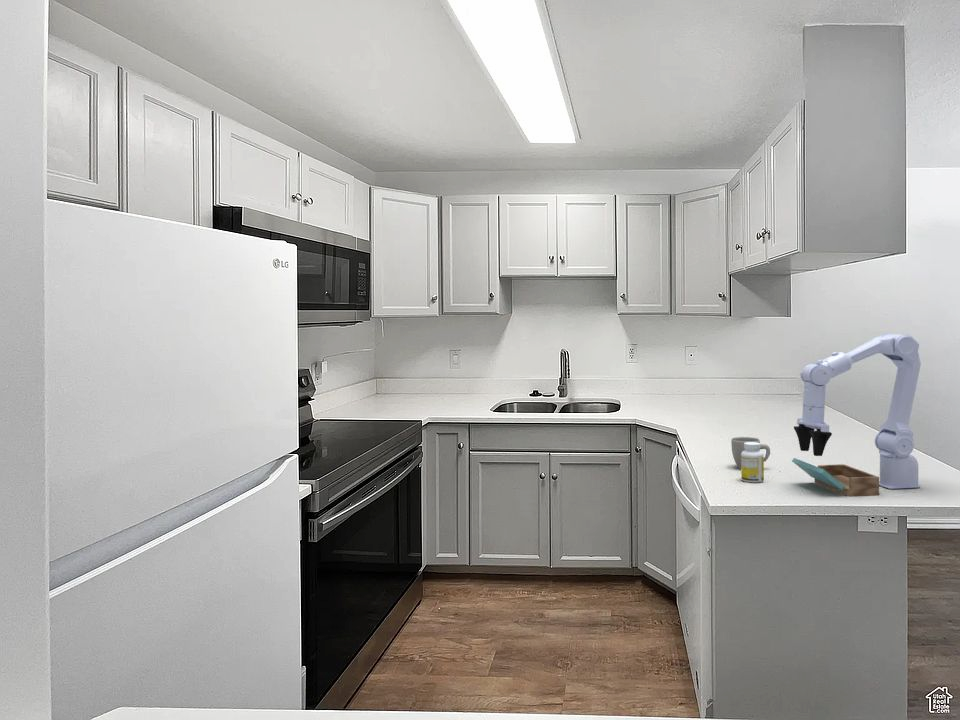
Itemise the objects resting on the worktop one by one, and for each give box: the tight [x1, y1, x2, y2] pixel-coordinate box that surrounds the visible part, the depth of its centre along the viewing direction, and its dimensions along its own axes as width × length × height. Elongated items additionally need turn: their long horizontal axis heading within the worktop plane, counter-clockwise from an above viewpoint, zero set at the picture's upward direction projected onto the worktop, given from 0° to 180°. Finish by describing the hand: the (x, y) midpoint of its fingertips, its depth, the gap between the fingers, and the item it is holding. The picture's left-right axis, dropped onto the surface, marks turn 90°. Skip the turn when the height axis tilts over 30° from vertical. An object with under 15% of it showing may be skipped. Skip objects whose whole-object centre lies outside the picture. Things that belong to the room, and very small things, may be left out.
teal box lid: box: [791, 457, 846, 490], centre depth 217 cm, size 1×17×8 cm
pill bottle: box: [740, 442, 765, 484], centre depth 230 cm, size 6×6×12 cm
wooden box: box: [814, 463, 880, 497], centre depth 218 cm, size 9×18×5 cm, turn 4°
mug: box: [730, 436, 771, 470], centre depth 248 cm, size 12×9×10 cm
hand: (811, 453), depth 216 cm, fingers open, 7 cm apart
